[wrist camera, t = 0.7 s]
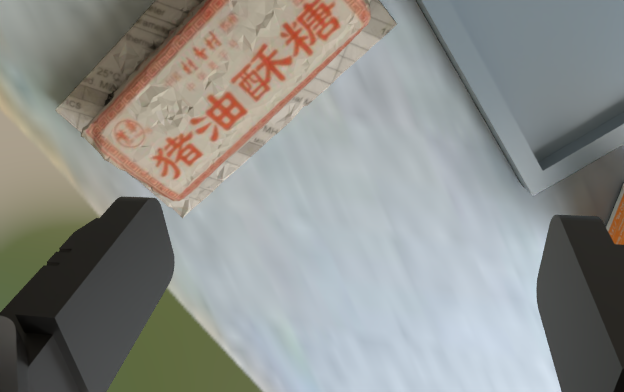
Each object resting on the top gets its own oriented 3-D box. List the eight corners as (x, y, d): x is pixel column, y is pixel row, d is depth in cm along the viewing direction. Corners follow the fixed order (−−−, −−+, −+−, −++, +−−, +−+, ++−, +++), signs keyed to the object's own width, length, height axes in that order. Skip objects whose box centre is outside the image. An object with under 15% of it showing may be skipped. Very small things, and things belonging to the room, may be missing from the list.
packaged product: (270, -147, 22) (411, 30, 25) (276, -128, 27) (395, 21, 30) (24, 126, 27) (168, 247, 30) (63, 104, 31) (185, 212, 34)
